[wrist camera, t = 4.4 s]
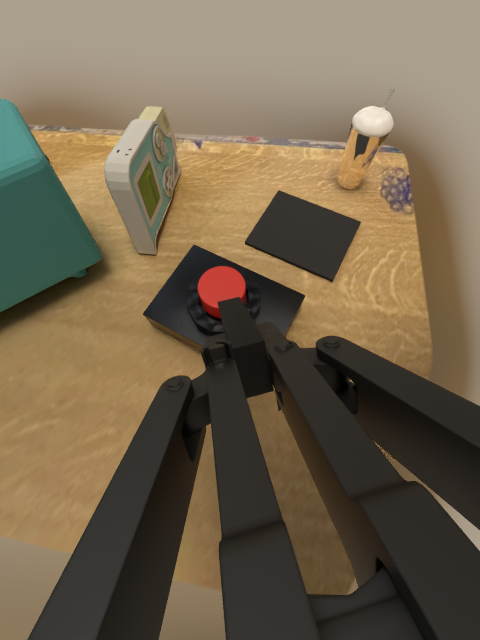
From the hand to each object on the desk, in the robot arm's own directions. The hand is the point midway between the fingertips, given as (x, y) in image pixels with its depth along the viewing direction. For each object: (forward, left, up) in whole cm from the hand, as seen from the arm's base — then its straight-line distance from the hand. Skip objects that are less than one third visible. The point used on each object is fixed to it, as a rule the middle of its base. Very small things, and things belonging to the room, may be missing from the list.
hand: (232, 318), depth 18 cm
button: (+4, -4, -8) cm, 9 cm away
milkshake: (-1, -31, -12) cm, 33 cm away
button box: (+4, -4, -12) cm, 13 cm away
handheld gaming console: (+20, -14, -13) cm, 27 cm away
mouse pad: (+1, -19, -12) cm, 23 cm away
